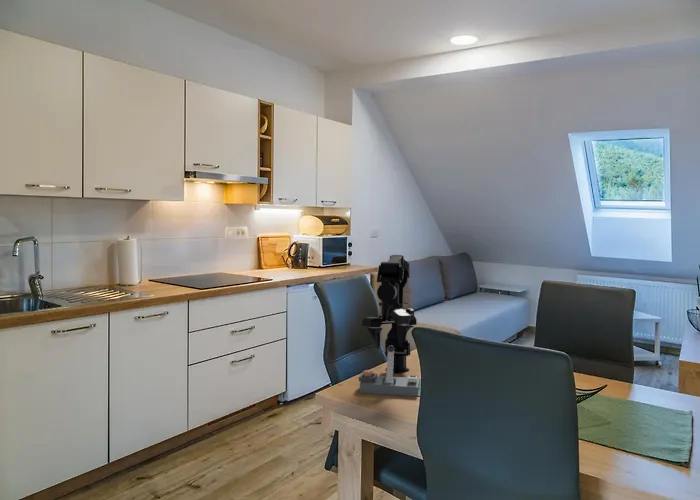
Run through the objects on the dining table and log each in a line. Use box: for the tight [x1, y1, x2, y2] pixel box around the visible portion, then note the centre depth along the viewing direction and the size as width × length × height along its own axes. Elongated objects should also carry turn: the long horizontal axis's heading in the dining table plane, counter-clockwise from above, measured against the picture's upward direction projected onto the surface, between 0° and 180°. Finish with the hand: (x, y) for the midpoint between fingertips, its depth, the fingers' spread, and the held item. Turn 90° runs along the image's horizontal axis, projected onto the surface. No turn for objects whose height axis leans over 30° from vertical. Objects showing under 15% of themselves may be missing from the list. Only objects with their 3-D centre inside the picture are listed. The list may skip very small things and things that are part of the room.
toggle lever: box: [385, 345, 395, 381], centre depth 171 cm, size 2×2×12 cm
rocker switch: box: [407, 374, 418, 382], centre depth 169 cm, size 4×3×2 cm, turn 168°
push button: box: [362, 369, 374, 377], centre depth 172 cm, size 3×3×2 cm
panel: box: [358, 372, 421, 397], centre depth 171 cm, size 9×20×5 cm, turn 78°
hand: (389, 347), depth 168 cm, fingers open, 9 cm apart
